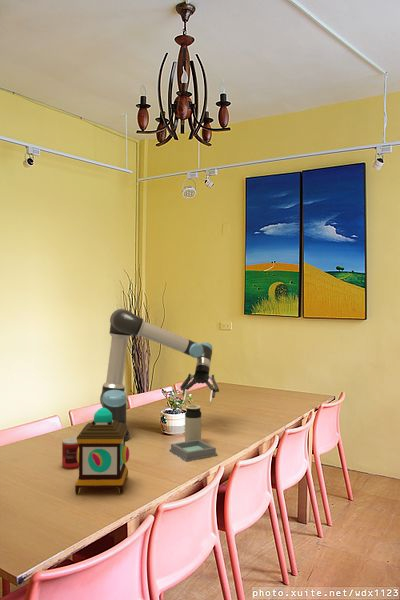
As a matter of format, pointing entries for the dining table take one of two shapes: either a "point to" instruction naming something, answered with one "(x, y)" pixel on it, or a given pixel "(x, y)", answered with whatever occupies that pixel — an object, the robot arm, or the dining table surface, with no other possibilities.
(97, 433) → the decorative lantern
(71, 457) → the canned food
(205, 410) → the dining table surface
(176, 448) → the tray
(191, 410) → the travel mug
